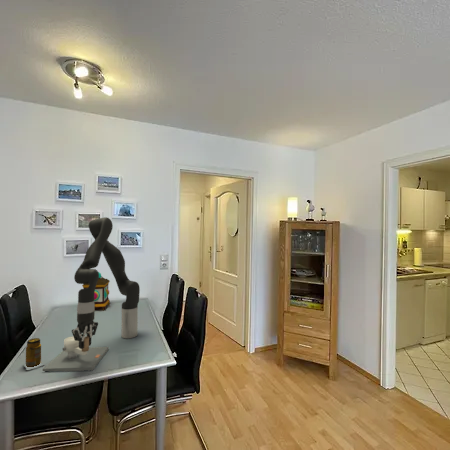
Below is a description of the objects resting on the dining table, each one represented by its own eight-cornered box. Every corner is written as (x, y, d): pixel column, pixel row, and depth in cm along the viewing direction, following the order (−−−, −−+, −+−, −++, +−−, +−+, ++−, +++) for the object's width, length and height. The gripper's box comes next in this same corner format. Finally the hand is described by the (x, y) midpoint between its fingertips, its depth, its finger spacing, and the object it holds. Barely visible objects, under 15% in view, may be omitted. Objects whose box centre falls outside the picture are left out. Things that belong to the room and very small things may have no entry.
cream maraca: (58, 352, 137) (59, 335, 137) (76, 345, 145) (76, 329, 145) (78, 359, 130) (78, 341, 130) (95, 351, 137) (95, 335, 138)
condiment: (39, 360, 139) (40, 336, 139) (44, 366, 133) (45, 340, 133) (22, 365, 133) (22, 340, 134) (26, 371, 128) (26, 345, 128)
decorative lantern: (86, 305, 235) (87, 269, 235) (111, 304, 239) (112, 269, 239) (79, 312, 215) (79, 273, 216) (106, 311, 219) (106, 272, 219)
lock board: (66, 350, 149) (66, 340, 149) (108, 349, 151) (108, 340, 151) (42, 372, 127) (42, 360, 127) (92, 370, 129) (92, 359, 129)
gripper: (92, 306, 143) (91, 340, 142) (67, 313, 130) (66, 351, 129) (103, 308, 140) (102, 343, 139) (79, 315, 127) (78, 354, 126)
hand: (85, 346), depth 134 cm, fingers closed on cream maraca, 3 cm apart
